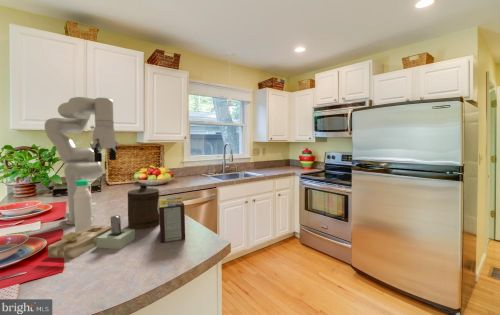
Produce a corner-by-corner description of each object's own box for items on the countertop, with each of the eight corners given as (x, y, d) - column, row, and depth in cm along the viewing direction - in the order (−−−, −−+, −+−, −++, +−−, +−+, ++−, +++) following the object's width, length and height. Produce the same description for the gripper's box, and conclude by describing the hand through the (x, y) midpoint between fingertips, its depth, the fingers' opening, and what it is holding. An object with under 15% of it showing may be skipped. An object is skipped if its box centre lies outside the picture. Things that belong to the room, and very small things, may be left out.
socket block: (48, 259, 90) (47, 246, 89) (93, 236, 111) (92, 225, 111) (73, 260, 88) (72, 247, 88) (114, 237, 110) (113, 226, 110)
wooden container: (166, 224, 127) (165, 182, 125) (139, 233, 114) (137, 187, 113) (148, 219, 135) (147, 180, 133) (122, 227, 122) (120, 184, 121)
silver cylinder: (110, 244, 100) (108, 218, 99) (115, 240, 103) (114, 215, 103) (118, 244, 100) (116, 218, 99) (123, 241, 103) (122, 215, 102)
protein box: (182, 228, 121) (181, 197, 120) (185, 239, 107) (184, 204, 106) (159, 230, 118) (158, 198, 117) (160, 243, 103) (158, 207, 102)
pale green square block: (97, 250, 97) (96, 237, 97) (113, 239, 107) (113, 228, 107) (120, 251, 96) (120, 238, 96) (135, 240, 106) (134, 229, 106)
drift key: (61, 250, 92) (61, 236, 92) (71, 245, 96) (70, 232, 96) (72, 251, 91) (71, 237, 91) (82, 246, 96) (81, 232, 95)
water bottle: (74, 237, 110) (71, 182, 109) (76, 232, 117) (73, 180, 115) (92, 234, 114) (89, 180, 112) (94, 229, 120) (91, 178, 118)
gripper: (109, 125, 125) (110, 159, 126) (82, 123, 108) (84, 162, 109) (123, 125, 124) (124, 159, 126) (98, 123, 107) (99, 162, 108)
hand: (105, 160), depth 117 cm, fingers open, 9 cm apart
